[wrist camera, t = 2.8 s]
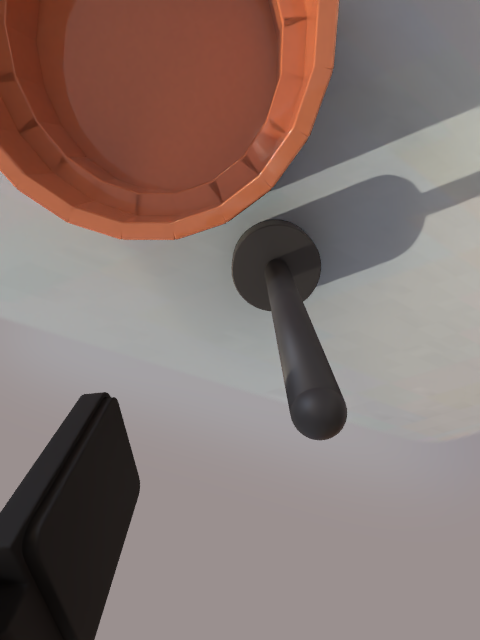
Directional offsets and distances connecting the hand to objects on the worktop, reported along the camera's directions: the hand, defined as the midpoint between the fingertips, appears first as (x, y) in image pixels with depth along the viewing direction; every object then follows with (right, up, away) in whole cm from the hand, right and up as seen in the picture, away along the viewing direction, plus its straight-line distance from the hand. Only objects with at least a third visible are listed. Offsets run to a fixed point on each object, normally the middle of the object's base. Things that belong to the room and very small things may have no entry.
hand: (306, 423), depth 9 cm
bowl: (-6, +16, +10) cm, 20 cm away
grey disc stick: (+1, +6, +14) cm, 15 cm away
